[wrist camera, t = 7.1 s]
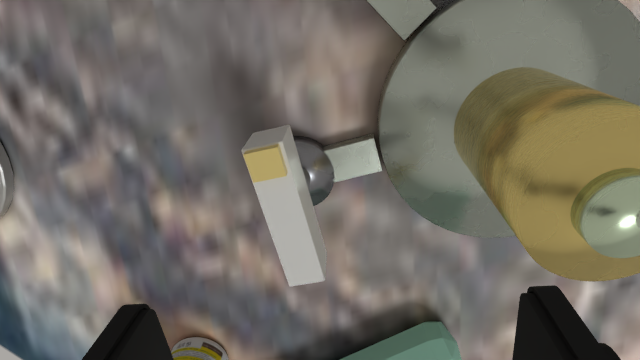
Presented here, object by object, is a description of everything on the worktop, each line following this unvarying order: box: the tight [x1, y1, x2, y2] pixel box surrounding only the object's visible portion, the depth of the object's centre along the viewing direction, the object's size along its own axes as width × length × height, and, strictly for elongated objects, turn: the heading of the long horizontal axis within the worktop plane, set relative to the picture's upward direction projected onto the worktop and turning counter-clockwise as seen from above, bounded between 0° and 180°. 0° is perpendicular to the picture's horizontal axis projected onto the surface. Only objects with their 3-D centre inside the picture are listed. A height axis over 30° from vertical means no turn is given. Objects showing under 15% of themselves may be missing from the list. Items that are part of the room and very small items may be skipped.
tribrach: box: [293, 0, 640, 281], centre depth 19 cm, size 27×19×14 cm
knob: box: [241, 125, 327, 287], centre depth 24 cm, size 9×2×6 cm, turn 14°
